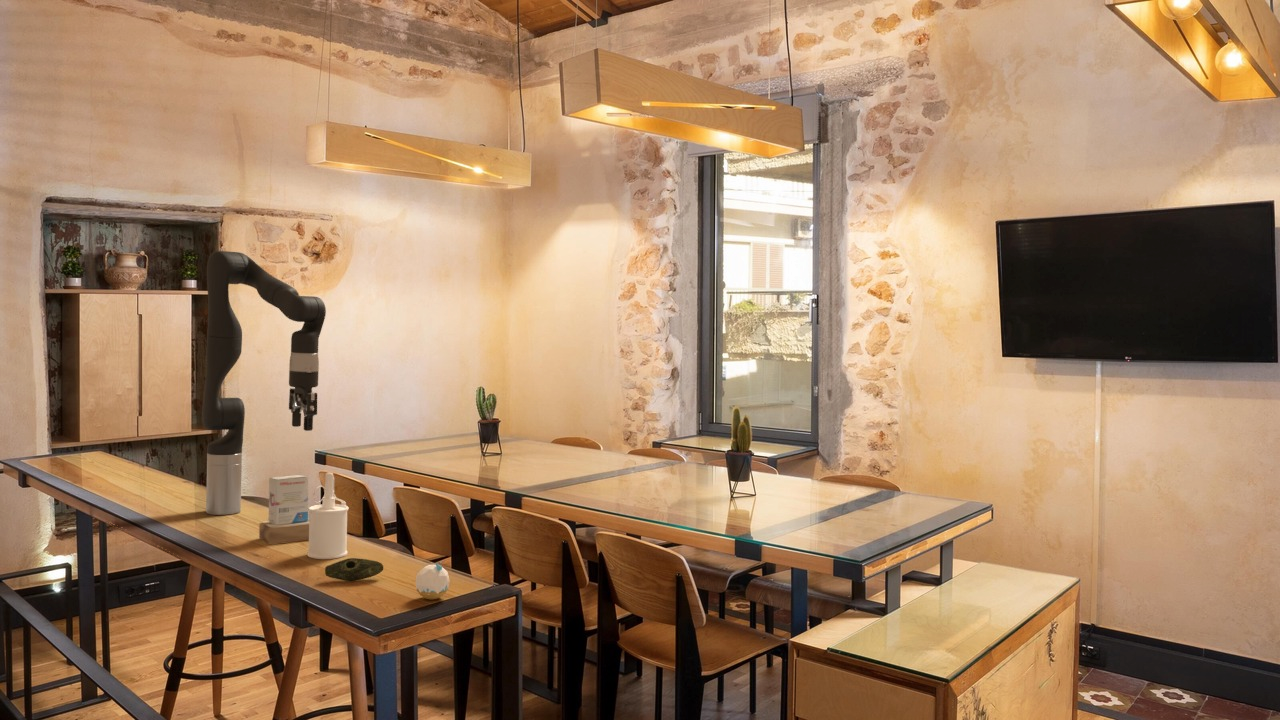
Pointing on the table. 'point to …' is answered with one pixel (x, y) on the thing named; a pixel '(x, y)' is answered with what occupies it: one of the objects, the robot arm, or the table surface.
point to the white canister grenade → (328, 524)
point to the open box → (283, 532)
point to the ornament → (432, 581)
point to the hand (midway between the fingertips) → (302, 428)
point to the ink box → (288, 499)
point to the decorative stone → (353, 569)
